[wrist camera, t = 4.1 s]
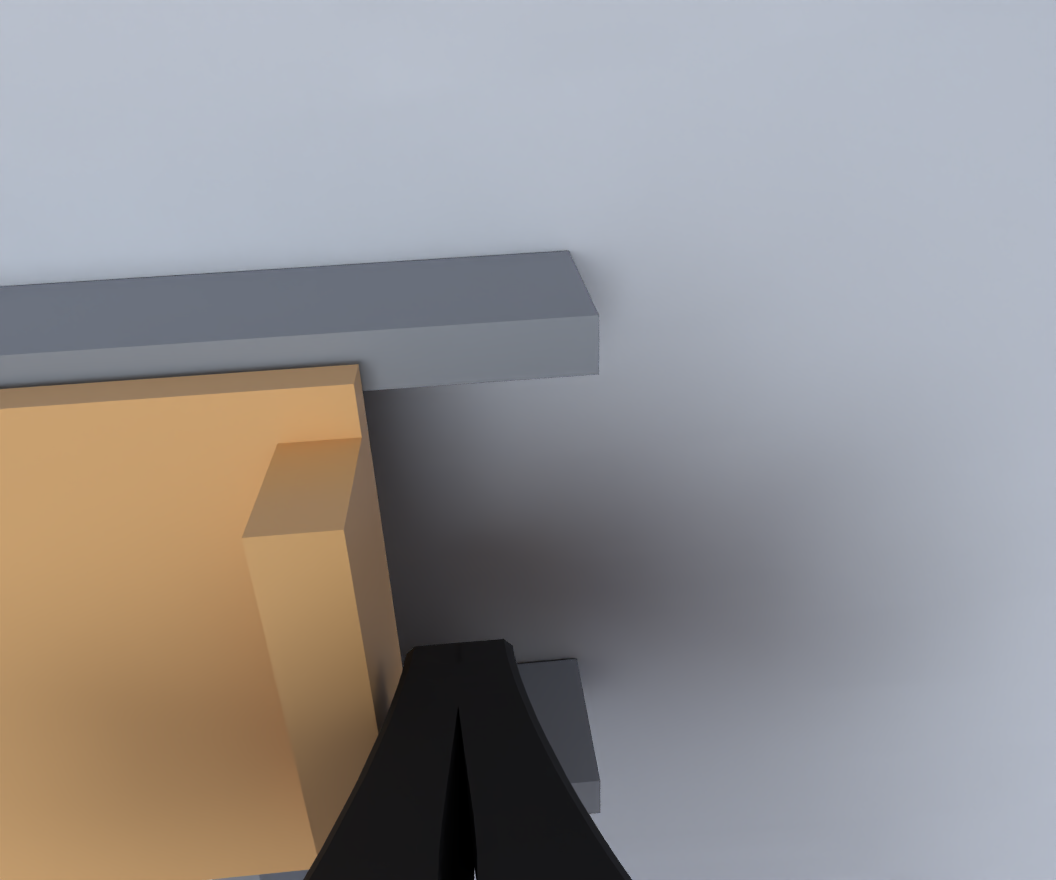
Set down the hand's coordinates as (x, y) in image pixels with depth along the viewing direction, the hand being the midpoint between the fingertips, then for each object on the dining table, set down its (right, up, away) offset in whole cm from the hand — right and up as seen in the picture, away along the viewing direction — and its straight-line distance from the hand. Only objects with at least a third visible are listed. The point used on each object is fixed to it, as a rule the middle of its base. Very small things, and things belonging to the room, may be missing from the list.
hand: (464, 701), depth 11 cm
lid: (-6, 0, +1) cm, 6 cm away
